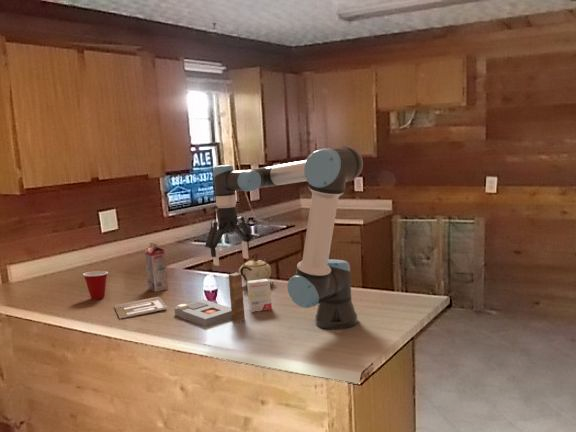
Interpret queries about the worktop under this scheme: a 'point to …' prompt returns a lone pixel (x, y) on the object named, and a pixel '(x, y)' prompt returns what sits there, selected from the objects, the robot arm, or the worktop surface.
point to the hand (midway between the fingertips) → (231, 261)
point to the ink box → (259, 295)
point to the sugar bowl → (255, 269)
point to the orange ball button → (210, 311)
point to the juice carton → (156, 268)
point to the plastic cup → (96, 283)
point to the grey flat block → (203, 312)
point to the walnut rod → (236, 297)
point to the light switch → (142, 303)
